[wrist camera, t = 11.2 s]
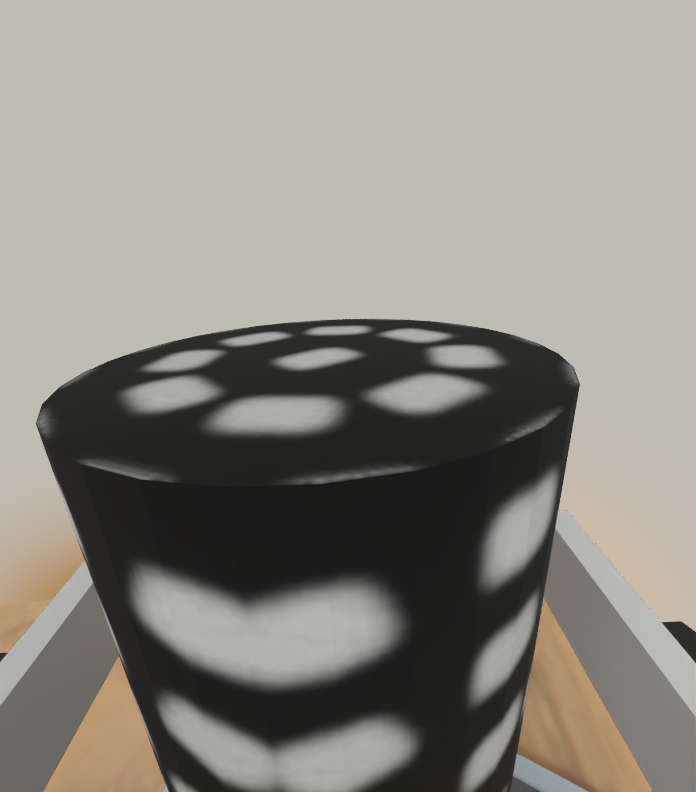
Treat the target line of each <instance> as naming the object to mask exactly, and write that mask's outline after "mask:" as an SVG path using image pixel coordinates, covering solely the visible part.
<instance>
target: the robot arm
mask: <svg viewBox="0 0 696 792" xmlns="http://www.w3.org/2000/svg"><path fill="white" fill-rule="evenodd" d="M544 599H545V601H546V602H547V604H548V606H549V608H550V609H551V611H552V613H553V615H554V616H555V618H556V620H557V622H558V624H559V625H560V627H561V629H562V631H563V632H564V634H565V636H566V638H567V640H568V641H569V643H570V645H571V647H572V648H573V650H574V652H575V654H576V655H577V657H578V659H579V661H580V663H581V664H582V666H583V668H584V670H585V671H586V673H587V675H588V677H589V679H590V680H591V682H592V684H593V686H594V687H595V689H596V691H597V693H598V695H599V696H600V698H601V700H602V702H603V703H604V705H605V707H606V709H607V710H608V712H609V714H610V716H611V718H612V719H613V721H614V723H615V725H616V726H617V728H618V730H619V732H620V734H621V735H622V737H623V739H624V741H625V742H626V744H627V746H628V748H629V749H630V751H631V753H632V755H633V757H634V758H635V760H636V762H637V764H638V765H639V767H640V769H641V771H642V773H643V774H644V776H645V778H646V780H647V781H648V783H649V785H650V787H651V789H652V790H653V792H696V632H695V631H693V630H692V629H691V628H689V627H688V626H687V625H685V624H684V623H682V622H661V621H660V620H659V619H658V618H657V616H656V615H655V614H654V613H653V612H652V610H651V609H650V608H649V607H648V606H647V605H646V603H645V602H644V601H643V600H642V599H641V597H639V595H638V594H637V593H636V592H635V590H634V589H633V588H632V587H631V585H630V584H629V583H628V582H627V581H626V580H625V578H624V577H623V576H622V575H621V574H620V572H619V571H618V570H617V569H616V568H615V567H614V565H613V564H612V563H611V562H610V560H609V559H608V558H607V557H606V556H605V555H604V554H603V552H602V551H601V550H600V549H599V547H598V546H597V545H596V544H595V543H594V542H593V540H592V539H591V538H590V537H589V536H588V534H587V533H586V532H585V531H584V530H583V528H582V527H581V526H580V525H579V524H578V522H577V521H576V520H575V519H574V518H573V516H572V515H571V514H570V513H569V512H568V510H558V515H557V521H556V526H555V532H554V538H553V544H552V550H551V556H550V562H549V567H548V573H547V579H546V585H545V591H544ZM118 656H119V654H118V651H117V648H116V645H115V642H114V640H113V637H112V634H111V631H110V628H109V626H108V623H107V620H106V617H105V615H104V612H103V609H102V606H101V603H100V601H99V598H98V595H97V592H96V590H95V587H94V584H93V581H92V578H91V576H90V573H89V570H88V567H87V564H86V562H85V561H84V562H83V564H82V565H81V566H80V567H79V568H78V569H77V571H76V572H75V573H74V574H73V575H72V577H71V578H70V579H69V580H68V581H67V583H66V584H65V585H64V586H63V587H62V589H61V590H60V591H59V592H58V594H57V595H56V596H55V597H54V598H53V599H52V601H51V602H50V603H49V604H48V605H47V607H46V608H45V609H44V610H43V611H42V613H41V614H40V615H39V616H38V617H37V619H36V620H35V621H34V622H33V623H32V625H31V626H30V627H29V628H28V629H27V631H26V632H25V633H24V634H23V635H22V637H21V638H20V639H19V640H18V641H17V643H16V644H15V645H14V646H13V647H12V649H11V650H10V651H9V652H8V653H0V792H43V791H44V789H45V787H46V785H47V783H48V782H49V780H50V778H51V776H52V774H53V773H54V771H55V769H56V767H57V765H58V764H59V762H60V760H61V758H62V756H63V755H64V753H65V751H66V749H67V747H68V746H69V744H70V742H71V740H72V738H73V737H74V735H75V733H76V731H77V730H78V728H79V726H80V724H81V722H82V721H83V719H84V717H85V715H86V713H87V712H88V710H89V708H90V706H91V704H92V703H93V701H94V699H95V697H96V695H97V694H98V692H99V690H100V688H101V686H102V685H103V683H104V681H105V679H106V677H107V676H108V674H109V672H110V670H111V668H112V667H113V665H114V663H115V661H116V660H117V658H118Z"/></svg>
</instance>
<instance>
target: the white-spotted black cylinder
mask: <svg viewBox="0 0 696 792" xmlns="http://www.w3.org/2000/svg"><path fill="white" fill-rule="evenodd" d="M579 386H580V384H579V381H578V378H577V375H576V372H575V369H574V367H573V366H571V365H570V364H569V363H568V362H567V361H566V360H565V359H564V358H563V357H562V356H560V355H559V354H558V353H556V352H554V351H552V350H550V349H548V348H546V347H544V346H542V345H540V344H538V343H535V342H532V341H529V340H526V339H523V338H520V337H517V336H514V335H511V334H506V333H502V332H498V331H494V330H489V329H484V328H478V327H472V326H465V325H459V324H450V323H440V322H430V321H415V320H392V319H391V320H390V319H345V320H344V319H343V320H320V321H305V322H292V323H282V324H273V325H264V326H255V327H249V328H242V329H235V330H228V331H222V332H217V333H211V334H206V335H200V336H195V337H191V338H187V339H182V340H178V341H173V342H169V343H165V344H162V345H158V346H154V347H151V348H147V349H144V350H140V351H137V352H134V353H132V354H129V355H125V356H122V357H119V358H117V359H114V360H111V361H108V362H106V363H104V364H102V365H99V366H97V367H95V368H93V369H90V370H88V371H86V372H84V373H82V374H80V375H79V376H77V377H75V378H74V379H72V380H70V381H69V382H67V383H66V384H64V385H62V386H61V387H59V388H58V389H57V390H56V391H55V392H54V393H53V394H52V395H51V396H50V397H49V398H48V399H47V400H46V401H45V402H44V403H43V404H42V406H41V409H40V413H39V416H38V419H37V422H36V425H37V428H38V431H39V433H40V436H41V439H42V442H43V445H44V447H45V450H46V453H47V456H48V459H49V461H50V464H51V467H52V470H53V472H54V475H55V478H56V481H57V483H58V486H59V489H60V492H61V495H62V498H63V500H64V503H65V506H66V509H67V511H68V514H69V517H70V520H71V523H72V525H73V528H74V531H75V534H76V536H77V539H78V542H79V545H80V548H81V551H82V553H83V556H84V559H85V562H86V564H87V567H88V570H89V573H90V576H91V578H92V581H93V584H94V587H95V590H96V592H97V595H98V598H99V601H100V603H101V606H102V609H103V612H104V615H105V617H106V620H107V623H108V626H109V628H110V631H111V634H112V637H113V640H114V642H115V645H116V648H117V651H118V654H119V656H120V659H121V662H122V665H123V667H124V670H125V673H126V676H127V679H128V681H129V684H130V687H131V690H132V693H133V695H134V698H135V701H136V704H137V706H138V709H139V712H140V715H141V718H142V720H143V723H144V726H145V729H146V731H147V734H148V737H149V740H150V743H151V745H152V748H153V751H154V754H155V757H156V759H157V762H158V765H159V768H160V770H161V773H162V776H163V779H164V782H165V784H166V787H167V790H168V792H510V790H511V784H512V778H513V773H514V767H515V761H516V755H517V749H518V743H519V737H520V732H521V726H522V720H523V714H524V708H525V702H526V696H527V691H528V685H529V679H530V673H531V667H532V661H533V655H534V650H535V644H536V638H537V632H538V626H539V620H540V614H541V608H542V603H543V597H544V591H545V585H546V579H547V573H548V567H549V562H550V556H551V550H552V544H553V538H554V532H555V526H556V521H557V515H558V509H559V503H560V497H561V491H562V485H563V479H564V474H565V468H566V461H567V456H568V450H569V444H570V438H571V433H572V426H573V421H574V415H575V409H576V403H577V398H578V391H579Z"/></svg>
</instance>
